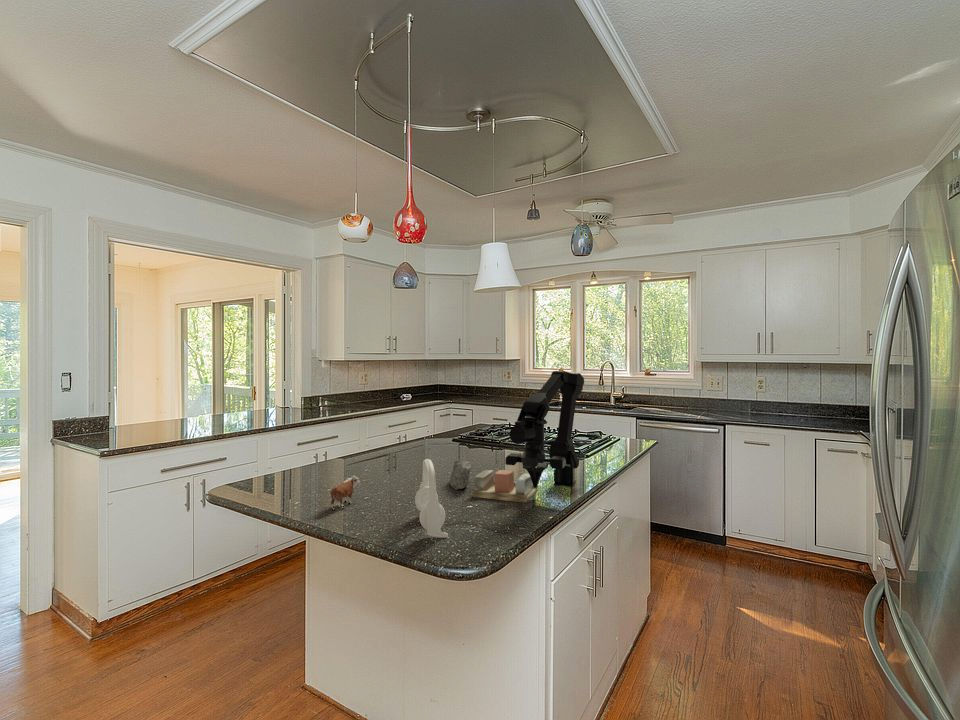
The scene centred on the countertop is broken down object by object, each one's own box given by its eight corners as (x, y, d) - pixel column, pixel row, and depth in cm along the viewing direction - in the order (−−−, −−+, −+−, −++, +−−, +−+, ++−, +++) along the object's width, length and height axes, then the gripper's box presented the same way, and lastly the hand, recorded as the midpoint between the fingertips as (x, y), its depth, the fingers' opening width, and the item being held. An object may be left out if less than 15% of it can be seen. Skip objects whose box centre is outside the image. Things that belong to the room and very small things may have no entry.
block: (499, 487, 169) (499, 469, 168) (513, 489, 167) (513, 471, 167) (494, 491, 164) (494, 473, 164) (509, 493, 162) (509, 474, 162)
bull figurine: (363, 499, 160) (362, 474, 160) (338, 513, 148) (337, 485, 148) (351, 498, 162) (350, 473, 162) (325, 511, 149) (325, 484, 149)
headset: (414, 515, 145) (413, 454, 145) (438, 513, 147) (437, 452, 146) (420, 541, 126) (419, 470, 125) (448, 538, 127) (447, 468, 127)
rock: (470, 491, 167) (471, 462, 168) (446, 490, 167) (447, 461, 168) (472, 486, 182) (473, 459, 183) (450, 486, 182) (451, 459, 183)
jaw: (533, 488, 167) (533, 473, 167) (524, 496, 158) (524, 481, 157) (524, 487, 168) (524, 473, 168) (515, 496, 159) (515, 480, 158)
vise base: (537, 490, 168) (537, 472, 168) (526, 502, 155) (525, 483, 155) (487, 485, 175) (487, 468, 175) (472, 496, 162) (472, 478, 162)
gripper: (499, 442, 157) (500, 491, 157) (558, 445, 150) (558, 497, 150) (510, 436, 167) (510, 482, 168) (565, 439, 160) (566, 487, 161)
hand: (535, 487), depth 161 cm, fingers closed
